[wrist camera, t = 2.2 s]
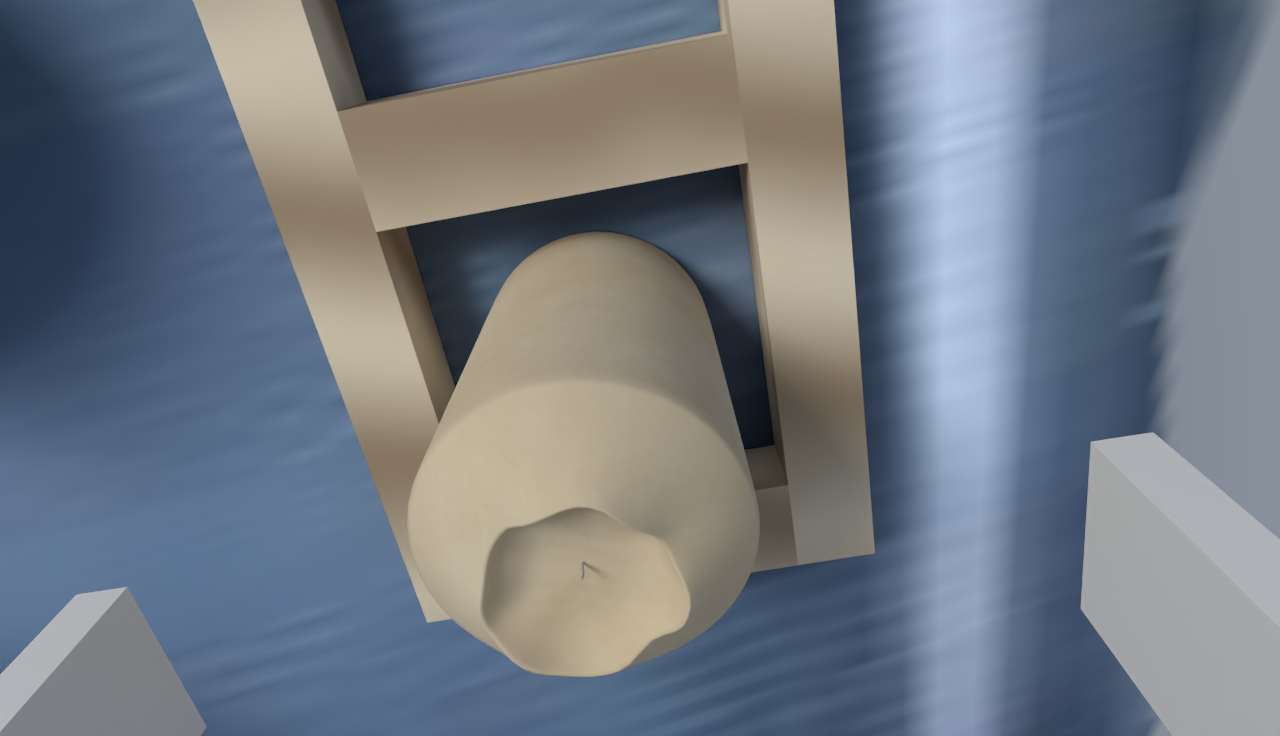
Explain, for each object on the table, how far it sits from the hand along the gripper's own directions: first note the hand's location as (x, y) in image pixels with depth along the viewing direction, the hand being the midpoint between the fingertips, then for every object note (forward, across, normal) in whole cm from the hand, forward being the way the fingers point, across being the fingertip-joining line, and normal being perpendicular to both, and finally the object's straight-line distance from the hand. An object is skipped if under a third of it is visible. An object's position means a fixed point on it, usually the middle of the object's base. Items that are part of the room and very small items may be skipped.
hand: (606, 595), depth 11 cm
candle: (+10, +1, 0) cm, 10 cm away
